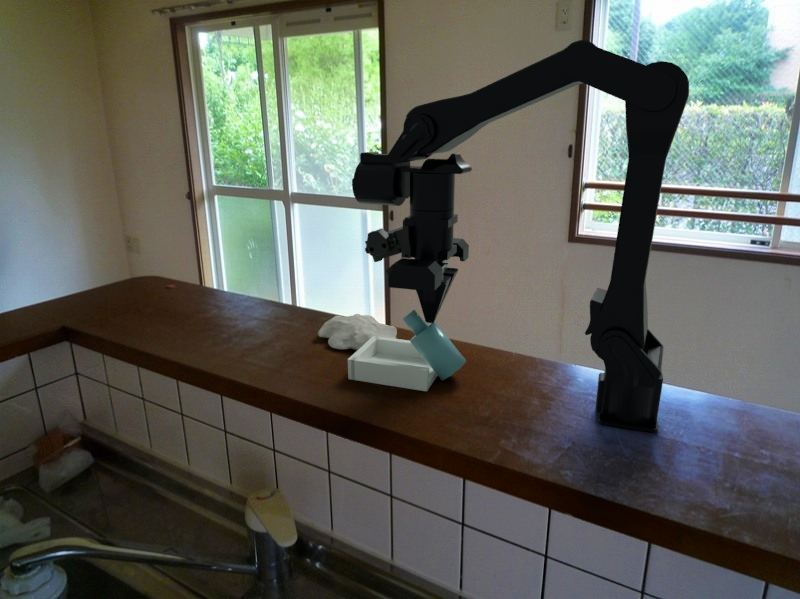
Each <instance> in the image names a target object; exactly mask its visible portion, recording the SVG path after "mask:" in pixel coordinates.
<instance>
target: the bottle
mask: <svg viewBox="0 0 800 599" xmlns="http://www.w3.org/2000/svg"><path fill="white" fill-rule="evenodd" d="M402 321H403V322H404V324H405V325H406V326H407V328H409V330H410V331H411V332H412V333H413V335H414V336H412V337H411V339H410V340H409V341H410V342H411V343H412V344H413V346H414V347H415V348H416V349H417V351H418V352H419V353H420V354H421V356H422V357H423V358H424V359H425V360H426V362H427V363H428V364H429V365H430V367H431V368H432V369H433V370H434V372H435V373H436V374H437V377H438V378H439V379H440V380H441V381H444V380H446V379H448V378H449V377H451V376H452V375H454V374H456V372H457V371H459V370H460V369H461V368H462V367H463V366H464V365H465V363H466V362H467V360H466V358H465V357H464V356H463V354H461V352H460V350H458V348H457V347H456V346H455V345H454V343H453V342H452V341H451V340H450V338H449V337H448V335H446V333H445V332H444V331H443V330H442V329H441V327H440V326H439V325H438V323H436V320H435V321H434V322H433V323H427V322H426V321H425V319H423V318H422V317H421V316H420V314H419V312H418V311H417V310H416V309H412V310H411V311H410V312H409V313H407V314H406V315H405V316H403V318H402Z"/></svg>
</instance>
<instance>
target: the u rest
mask: <svg viewBox="0 0 800 599" xmlns="http://www.w3.org/2000/svg"><path fill="white" fill-rule="evenodd" d="M347 375H348V376H347V377H348V380H351V381H352V380H353V381H359V382H364V383H371V384H377V385H384V386H388V387H389V386H390V387H397V388H403V389H409V390H415V391H422V392H428V391H429V389H430V387H431V386H432V384H433V383H434V381H435V380H436V379H437V377H438V375H437V374H436V373H435V372H434V370H433V369H432V368H431V367H430V365H429V364H428V363H427V362H426V360H425V359H424V358H423V357H422V356H421V354H420V353H419V352H418V351H417V349H416V348H415V347H414V346H413V344H412V343H411V342H410V340H409V339H401V338H400V339H399V338H396V339H394V338H386V337H378V336H373V337H372V338H371V339H369V340H368V341H367V342H366V343H365V344H364V345H363V346H362V347H361V348H360V349H358V350H355V352H354V353H353V354H352V355H351V356H350V357H348V358H347Z"/></svg>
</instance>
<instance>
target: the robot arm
mask: <svg viewBox="0 0 800 599" xmlns="http://www.w3.org/2000/svg"><path fill="white" fill-rule="evenodd" d="M582 84H585V85H588V87H591V88H594V89H597V90H598V91H601V92H603V93H605V94H608V95H611V96H613V97H614V98H616V99H620V100H622V101H624V102H625V103H624V107H625V129H626V142H627V152H628V154H627V155H628V156H627V157H628V161H627V167H626V174H625V180H624V188H623V194H622V200H621V208H620V213H619V219H618V228H617V234H616V241H615V246H614V254H613V261H612V268H611V272H610V273H611V274H610V281H609V284H608V287H607V289H603V288H600V287H597V288H596V290H595V291H594V292H593V295H592V297H591V299H590V301H589V323H588V325H587V328H586V330H585V331H584V334H585V336H588V335H590V339H589V340H590V343H589V344H590V347H591V350H592V351H593V352H594V354H596V356H597V357H598V358H599V359H601V360H602V361H603V364H604V371H603V372H600V373H598V378H597V386H596V387H597V388H596V396H595V406H594V407H595V409H594V410H595V411H596V412H597V413H598V423H599V424H601V425H604V426H611V427H618V428H623V429H630V430H636V431H642V432H648V433H649V432H650V433H655V434H656V433H658V432H659V429H660V426H659V421H658V415H659V409H660V402H661V396H662V390H663V384H664V376H663V375H664V374H663V371H662V368H663V367H662V366H663V357H664V348H665V347H664V344H662V343H661V341H660V340H659V339H658V338H657V337H656V336H655V334H653V332H652V331H651V330H650V329H649V328H648V326H649V320H648V319H649V318H648V315H649V313H648V295H647V274H648V268H649V261H650V256H651V255H650V254H651V250H652V245H653V244H652V243H653V237H654V233H655V226H656V223H657V222H656V220H657V216H658V209H659V202H660V199H661V198H660V197H661V192H662V185H663V180H664V173H665V168H666V163H667V162H666V161H667V157H668V155H669V152H670V149H671V146H672V143H673V141H674V138H675V136H676V134H677V130H678V128H679V125H680V123H681V119H682V116H683V114H684V111H685V109H686V106H687V103H688V99H689V97H690V81H689V78H688V75H687V73H686V72H684V70H683V69H682V68H681V67H680V66H679V65H677V64H675V63H673V62H670V61H663V60H662V61H655V62H651V63H648V64H647V65H646V64H643V63H640V62H638V61H636V60H634V59H630V58H628V57H625V56H623V55H620V54H617V53H615V52H611V51H609V50H606V49H603V48H600V47H598V46H597V45H596V44H594V42H591V41H589V40H584V39H580V40H576V41H573V42H572V43H570V44H568V45H567V46H566V47H565V48H563V49H561V50H559V51H557V52H556V53H553V54H551V55H548V56H546V57H545V58H543V59H541V60H538V61H536V62H535V63H532V64H530V65H528V66H525V67H523V68H521V69H519V70H517V71H515V72H513V73H511V74H508V75H507V76H504V77H502V78H500V79H497V80H495V81H493V82H492V83H490V84H488V85H486V86H483V87H481V88H478V89H477V90H475V91H472V92H470V93H466V94H464V95H458V96H452V97H449V98H444V99H443V98H442V99H438V100H434V101H431V102H427V103H424V104H420V105H416V106H414V107H413V108H412V109H410V110H409V111H408V112H407V114H405V115H406V116H405V119H404V122H403V129H402V132H401V133H400V135H399V137H398V138H397V140H396V141H395V143H394V145H393V146H392V148H391V149H390V151H388V153H378V152H374V151H367V152H365V151H364V152H361V153H360V154H359V160H360V162H359V163H358V164H357V165H356V167H355V171H354V174H353V178H352V180H351V189H352V194H353V196H354V198H355V200H356V202H358V203H359V204H363V205H364V204H366V205H379V206H392V207H393V206H395V207H400V206H402V205H403V204H404V202H406V201H405V200H406V199H409V215H407V216H406V217H404V219H403V220H402V226H401V227H398V228H395V229H392V230H388V231H386V230H385V229H384V228H383V227H382V228H379V229H376V230H373V231H370V232H368V233H367V237H366V238H367V240H366V241H364V242H365V248H364V251H365V252H366V254H369V255H370V256H371V257H372V259H373V262H374V263H377V262H381V261H382V260H383V259H385V258H389V257H392V256H396V255H399V254H401V257H400V258H399V259H398V260H397V261H396V262H394V263H393V264H391V265H390V266H389V267H388V268H387V269H386V270H385V286H386V287H387V288H392V289H402V290H411V291H412V290H413V291H416V294H417V295H416V296H417V297H418V300H419V301H418V302H419V304H420V307H421V311H422V314H423V317H424V322H425V323H426V324H430V323H433V322H434V321H435V322H436V320H437V318H438V315H439V312H440V310H441V308H442V306H443V304H444V302H445V300H446V297H447V295H448V293H449V291H450V289H451V287H452V284H453V282H454V280H455V278H456V275H457V274H458V273H459V268H456V267H455V268H454V267H449V262H447V261H448V260H450V259H451V258H454V257H455V258H456V257H457V258H459V261H460V262H466V260H468V259H469V251H470V249H469V247H470V245H469V243H467V241H466V240H465V239H464V238H458V237H454V226H455V224H457V223H458V219H459V216H458V215H459V214H458V213H455V188H456V186H455V185H456V184H455V183H456V182H455V181H456V175H463V174H467V173H471V172H472V169H473V168H472V166H471V165H470V164H469V163H468V162H467V161H465V159H464V158H463V157H462V155H461V153H460V152H456V153H451V154H450V155H449V156H448V158H430V157H431V156H433V155H434V154H443V153H447V152H449V151H452V150H453V149H455V148H457V147H458V146H459V145H461V144H463V143H464V142H466V141H468V140H469V139H470V138H472V137H473V136H474V135H475V134H477V133H478V132H479V131H480V130H481V129H482V128H484V127H486V126H487V125H489V124H490V123H493V122H495V121H497V120H500V119H501V118H505V117H507V116H509V115H511V114H513V113H515V112H518V111H521V110H523V109H525V108H527V107H530V106H532V105H534V104H537V103H539V102H542V101H543V100H546V99H548V98H551V97H553V96H555V95H557V94H560V93H562V92H564V91H567V90H569V89H571V88H573V87H576V86H578V85H582ZM421 160H423V163H422V165H421V166H419V165H417V166H416V165H411V162H415V161H421Z"/></svg>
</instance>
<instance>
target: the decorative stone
mask: <svg viewBox="0 0 800 599" xmlns="http://www.w3.org/2000/svg"><path fill="white" fill-rule="evenodd" d="M397 331H398V330H397V328H396V326H392V325H387V324H385V323H380V322H379V321H377V320H376V318H375V317H373V316H372V315H369V314H368V315H367V314H365V315H361V314H360V313H355V314H352V315H348V316H347V315H346V316H340V315H335V316H333V317H332V318H330V319H329V320H327V321H325V322H324V323H323V325H322V326H321V327H320V329H319V330H318V332H317V335H318V336H319V338H326V339H328V340H327V343H328V345H329V347H331V349H336V350H348V349H351V350H355V351H357V350H358V349H360V348H361V347H362V346H363V345H364V344H365V343H366V342H367V341H368V340H369V339H371V338H372V337H373V336H378V337H386V338H394V339H397V335H398V333H397Z"/></svg>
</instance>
